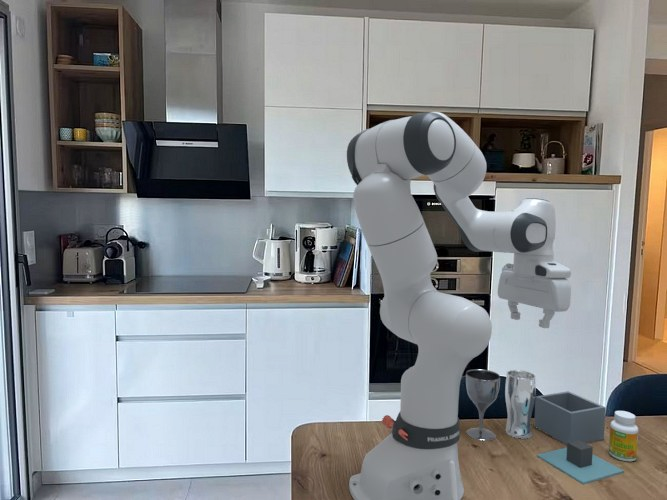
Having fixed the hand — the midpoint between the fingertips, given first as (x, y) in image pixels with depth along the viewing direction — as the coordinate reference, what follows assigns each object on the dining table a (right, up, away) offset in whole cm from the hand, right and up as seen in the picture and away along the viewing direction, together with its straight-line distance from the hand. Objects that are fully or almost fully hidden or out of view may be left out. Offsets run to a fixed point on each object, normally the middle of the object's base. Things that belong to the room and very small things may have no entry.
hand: (529, 323), depth 115 cm
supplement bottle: (+18, -29, -8) cm, 35 cm away
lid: (+6, -30, -12) cm, 32 cm away
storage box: (+11, -28, +3) cm, 30 cm away
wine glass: (-11, -28, +2) cm, 30 cm away
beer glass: (-2, -28, +2) cm, 28 cm away
